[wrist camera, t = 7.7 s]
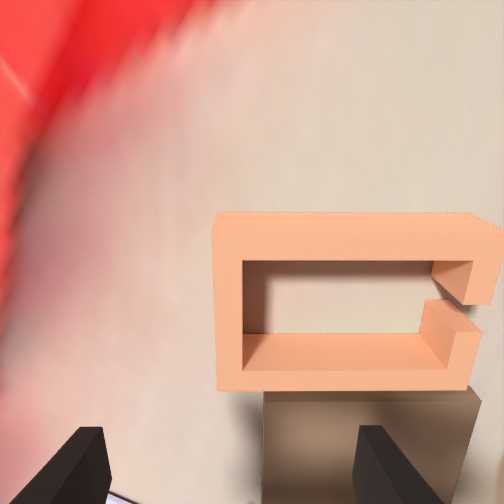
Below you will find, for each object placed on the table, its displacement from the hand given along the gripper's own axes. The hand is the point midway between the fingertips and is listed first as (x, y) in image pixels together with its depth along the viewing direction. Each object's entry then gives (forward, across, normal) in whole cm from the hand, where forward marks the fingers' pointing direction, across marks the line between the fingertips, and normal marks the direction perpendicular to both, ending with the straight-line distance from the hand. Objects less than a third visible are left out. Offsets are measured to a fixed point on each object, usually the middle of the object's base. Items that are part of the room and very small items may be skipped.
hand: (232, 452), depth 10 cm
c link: (+9, -5, 0) cm, 11 cm away
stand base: (+9, -7, +14) cm, 18 cm away
